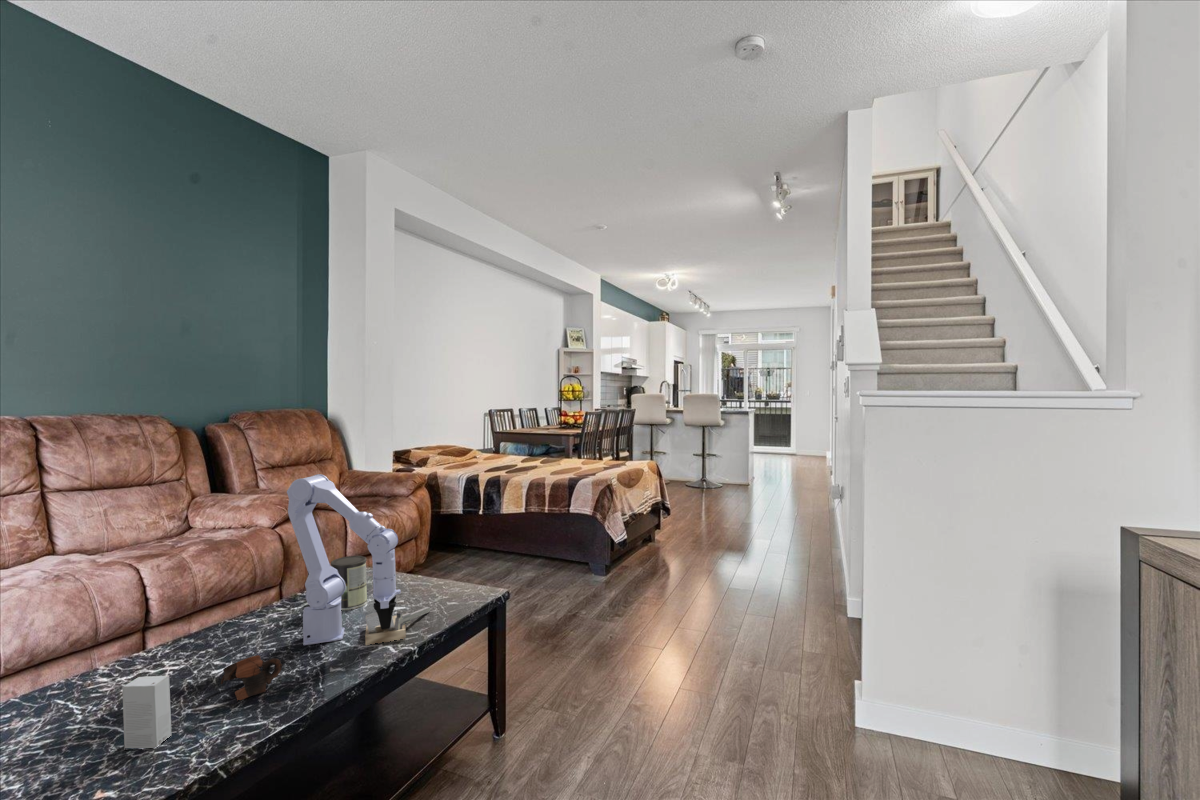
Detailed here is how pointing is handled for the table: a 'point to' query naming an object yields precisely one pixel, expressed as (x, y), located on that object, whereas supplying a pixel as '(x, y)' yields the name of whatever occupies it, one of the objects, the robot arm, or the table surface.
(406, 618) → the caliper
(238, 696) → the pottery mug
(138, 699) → the skincare box
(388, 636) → the tan wooden flat block
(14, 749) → the table surface
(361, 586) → the coffee can
